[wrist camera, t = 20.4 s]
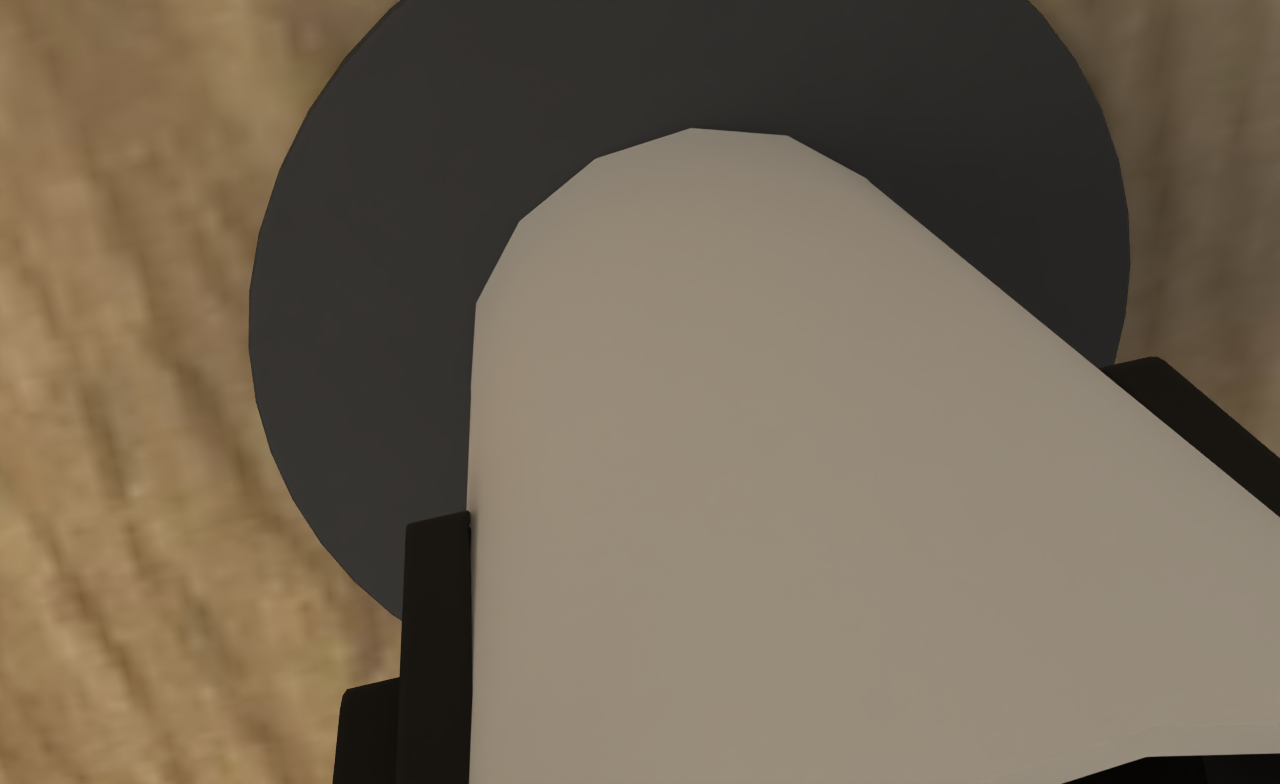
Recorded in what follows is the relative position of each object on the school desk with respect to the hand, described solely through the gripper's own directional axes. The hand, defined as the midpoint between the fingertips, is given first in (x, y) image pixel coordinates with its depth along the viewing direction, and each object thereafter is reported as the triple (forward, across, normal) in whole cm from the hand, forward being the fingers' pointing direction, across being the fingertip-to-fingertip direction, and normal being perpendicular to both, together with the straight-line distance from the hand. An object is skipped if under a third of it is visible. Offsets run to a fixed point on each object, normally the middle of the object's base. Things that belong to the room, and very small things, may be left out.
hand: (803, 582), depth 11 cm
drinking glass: (+5, 0, 0) cm, 5 cm away
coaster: (+5, 0, 0) cm, 5 cm away
